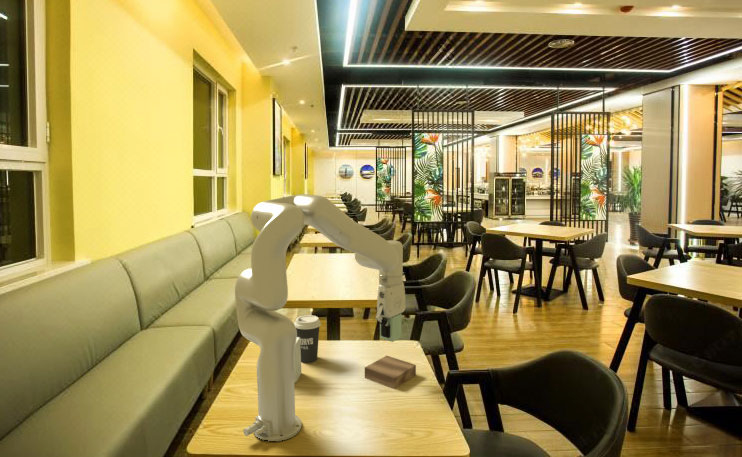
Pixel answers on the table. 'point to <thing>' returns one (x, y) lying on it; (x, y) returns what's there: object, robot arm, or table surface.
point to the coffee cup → (308, 337)
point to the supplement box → (297, 360)
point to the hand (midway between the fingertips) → (390, 333)
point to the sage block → (394, 328)
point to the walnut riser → (390, 371)
